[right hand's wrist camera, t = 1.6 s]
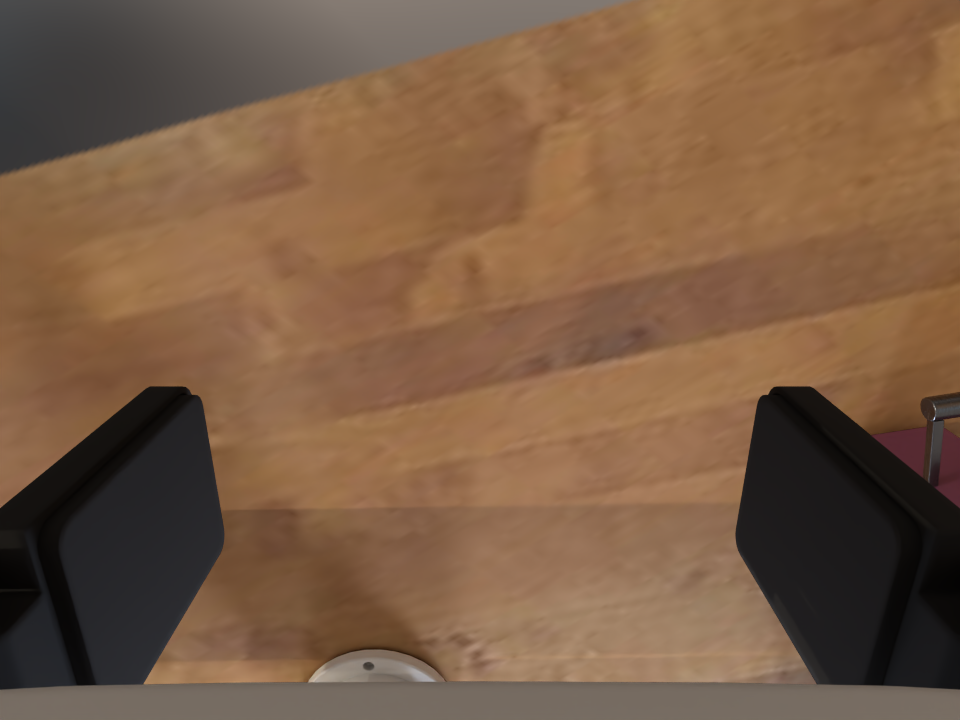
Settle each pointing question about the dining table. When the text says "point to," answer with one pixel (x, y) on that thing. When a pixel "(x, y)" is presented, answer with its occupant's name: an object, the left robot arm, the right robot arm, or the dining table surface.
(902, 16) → the dining table surface
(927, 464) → the drawer
